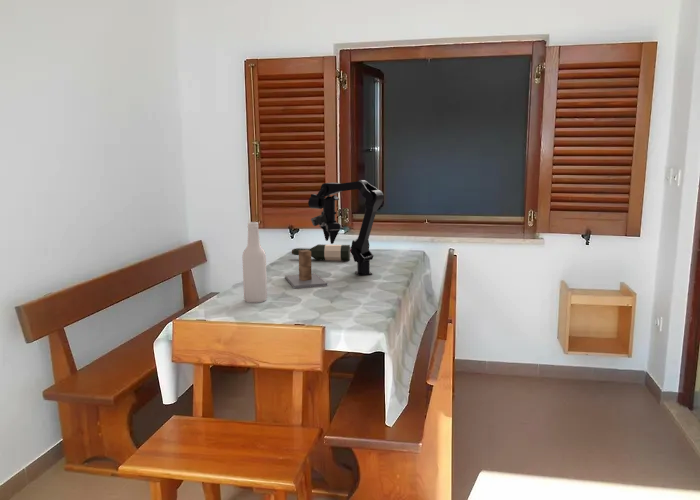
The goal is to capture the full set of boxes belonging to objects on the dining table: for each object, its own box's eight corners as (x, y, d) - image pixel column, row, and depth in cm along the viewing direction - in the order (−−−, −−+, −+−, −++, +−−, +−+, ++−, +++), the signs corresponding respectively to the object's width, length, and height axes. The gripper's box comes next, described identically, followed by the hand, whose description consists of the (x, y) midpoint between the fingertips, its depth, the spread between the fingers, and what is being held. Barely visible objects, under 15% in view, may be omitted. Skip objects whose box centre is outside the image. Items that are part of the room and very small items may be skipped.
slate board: (327, 285, 240) (327, 283, 240) (294, 288, 236) (294, 285, 236) (315, 275, 259) (315, 273, 258) (285, 278, 255) (285, 275, 254)
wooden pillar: (307, 277, 250) (306, 249, 247) (311, 279, 246) (311, 251, 244) (299, 278, 248) (298, 250, 245) (303, 280, 244) (302, 252, 242)
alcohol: (245, 304, 213) (242, 224, 207) (243, 298, 221) (240, 221, 216) (268, 302, 215) (266, 223, 210) (265, 296, 224) (263, 220, 218)
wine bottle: (350, 241, 294) (292, 240, 297) (348, 250, 287) (289, 249, 290) (350, 255, 299) (294, 254, 302) (349, 264, 292) (291, 262, 295)
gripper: (307, 208, 274) (308, 240, 277) (317, 212, 257) (317, 246, 259) (330, 207, 277) (330, 238, 280) (341, 211, 260) (341, 245, 263)
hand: (329, 242), depth 271 cm, fingers open, 9 cm apart
